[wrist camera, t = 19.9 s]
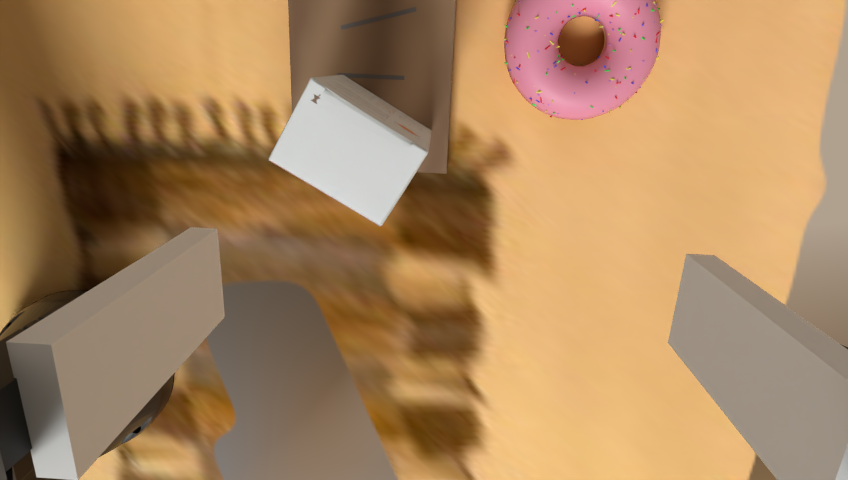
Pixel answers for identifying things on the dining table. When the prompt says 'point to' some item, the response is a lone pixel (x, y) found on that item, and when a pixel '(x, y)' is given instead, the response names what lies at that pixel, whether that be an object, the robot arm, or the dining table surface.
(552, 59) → the doughnut
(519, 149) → the dining table surface
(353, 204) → the small box
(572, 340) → the dining table surface
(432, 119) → the board
